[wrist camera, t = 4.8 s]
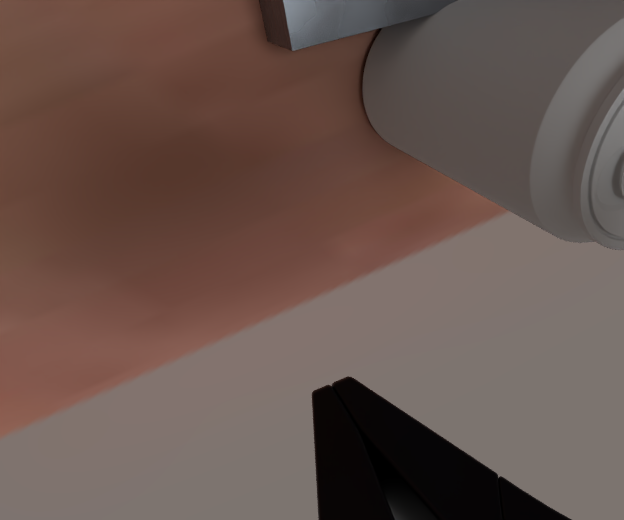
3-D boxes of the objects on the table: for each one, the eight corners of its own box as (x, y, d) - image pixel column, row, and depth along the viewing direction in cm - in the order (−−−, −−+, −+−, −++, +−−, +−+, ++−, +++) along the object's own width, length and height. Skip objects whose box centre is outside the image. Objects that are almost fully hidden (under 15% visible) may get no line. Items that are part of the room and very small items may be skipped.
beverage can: (489, 106, 23) (761, 189, 14) (379, 170, 23) (580, 304, 13) (464, -34, 20) (810, -56, 10) (332, 40, 19) (562, 92, 10)
